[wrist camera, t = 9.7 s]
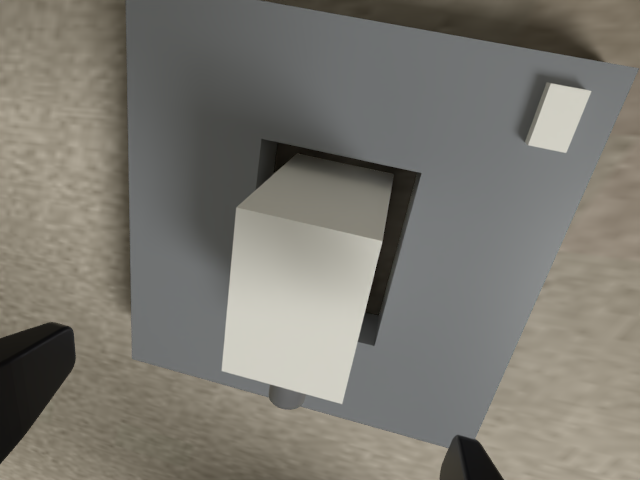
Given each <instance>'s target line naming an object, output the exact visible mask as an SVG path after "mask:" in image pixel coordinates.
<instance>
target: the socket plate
mask: <svg viewBox="0 0 640 480" xmlns="http://www.w3.org/2000/svg"><path fill="white" fill-rule="evenodd" d="M126 46H127V103H128V159H129V215H130V271H131V327H132V359H134V360H138V361H141V362H145V363H148V364H152V365H155V366H159V367H163V368H166V369H170V370H173V371H177V372H180V373H184V374H187V375H191V376H194V377H198V378H202V379H205V380H209V381H212V382H216V383H219V384H223V385H226V386H230V387H233V388H237V389H241V390H244V391H248V392H251V393H255V394H258V395H262V396H265V397H269V387H270V384H267V383H263V382H260V381H256V380H252V379H249V378H245V377H242V376H238V375H234V374H231V373H227V372H223V371H222V360H223V349H224V338H225V327H226V316H227V305H228V294H229V282H230V271H231V260H232V249H233V238H234V227H235V216H236V207H237V206H238V205H239V204H241V203H242V202H243V201H244V200H245V199H246V198H247V197H248V196H250V195H251V194H252V193H253V192H254V191H255V190H256V189H258V188H259V187H260V186H261V185H262V184H263V183H264V182H265V181H267V180H268V179H269V178H270V177H271V176H272V175H273V174H274V166H275V158H276V150H277V142H279V143H284V144H289V145H293V146H298V147H303V148H307V149H312V150H317V151H321V152H326V153H331V154H335V155H340V156H344V157H349V158H354V159H358V160H363V161H368V162H372V163H377V164H382V165H386V166H391V167H396V168H400V169H405V170H410V171H414V172H417V175H416V179H415V182H414V186H413V190H412V194H411V197H410V201H409V205H408V208H407V212H406V216H405V220H404V223H403V227H402V231H401V235H400V238H399V242H398V246H397V249H396V253H395V257H394V261H393V264H392V268H391V272H390V276H389V279H388V283H387V287H386V290H385V294H384V298H383V302H382V305H381V309H380V313H379V316H377V315H373V314H369V313H365V314H364V318H363V322H362V326H361V330H360V334H359V338H358V342H357V346H356V350H355V354H354V358H353V362H352V367H351V371H350V375H349V379H348V383H347V387H346V391H345V395H344V399H343V403H342V404H340V403H336V402H332V401H329V400H325V399H322V398H318V397H314V396H311V395H307V394H306V397H305V401H304V403H303V404H302V405H301V407H304V408H308V409H312V410H315V411H319V412H322V413H326V414H329V415H333V416H336V417H340V418H343V419H347V420H351V421H354V422H358V423H361V424H365V425H368V426H372V427H375V428H379V429H382V430H386V431H390V432H393V433H397V434H400V435H404V436H407V437H411V438H414V439H418V440H421V441H425V442H429V443H432V444H436V445H439V446H443V447H446V448H449V446H450V444H451V441H452V439H453V438H454V437H455V436H456V435H462V436H465V437H469V438H472V439H475V438H476V436H477V433H478V431H479V429H480V427H481V424H482V422H483V420H484V417H485V415H486V413H487V411H488V408H489V406H490V404H491V402H492V399H493V397H494V395H495V393H496V390H497V388H498V386H499V384H500V381H501V379H502V377H503V375H504V372H505V370H506V368H507V366H508V363H509V361H510V359H511V356H512V354H513V352H514V350H515V347H516V345H517V343H518V341H519V338H520V336H521V334H522V332H523V329H524V327H525V325H526V323H527V320H528V318H529V316H530V314H531V311H532V309H533V307H534V305H535V302H536V300H537V298H538V295H539V293H540V291H541V289H542V286H543V284H544V282H545V280H546V277H547V275H548V273H549V271H550V268H551V266H552V264H553V262H554V259H555V257H556V255H557V253H558V250H559V248H560V246H561V244H562V241H563V239H564V237H565V235H566V232H567V230H568V228H569V225H570V223H571V221H572V219H573V216H574V214H575V212H576V210H577V207H578V205H579V203H580V201H581V198H582V196H583V194H584V192H585V189H586V187H587V185H588V183H589V180H590V178H591V176H592V174H593V171H594V169H595V167H596V164H597V162H598V160H599V158H600V155H601V153H602V151H603V149H604V146H605V144H606V142H607V140H608V137H609V135H610V133H611V131H612V128H613V126H614V124H615V122H616V119H617V117H618V115H619V113H620V110H621V108H622V106H623V104H624V101H625V99H626V97H627V94H628V92H629V90H630V88H631V85H632V83H633V81H634V79H635V76H636V74H637V72H638V70H639V68H634V67H628V66H622V65H617V64H611V63H606V62H600V61H595V60H589V59H584V58H578V57H572V56H567V55H561V54H556V53H550V52H545V51H539V50H533V49H528V48H522V47H517V46H511V45H506V44H500V43H494V42H489V41H483V40H478V39H472V38H467V37H461V36H455V35H450V34H444V33H439V32H433V31H428V30H422V29H416V28H411V27H405V26H400V25H394V24H389V23H383V22H377V21H372V20H366V19H361V18H355V17H350V16H344V15H338V14H333V13H327V12H322V11H316V10H311V9H305V8H300V7H294V6H288V5H283V4H277V3H272V2H266V1H261V0H126Z"/></svg>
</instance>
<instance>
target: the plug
mask: <svg viewBox="0 0 640 480" xmlns="http://www.w3.org/2000/svg"><path fill="white" fill-rule="evenodd" d="M393 177H394V174H391V173H386V172H382V171H377V170H372V169H368V168H363V167H358V166H354V165H349V164H344V163H340V162H335V161H330V160H326V159H321V158H316V157H312V156H307V155H302V154H298V153H297V154H296V155H295V156H294V157H292V158H291V159H290V160H289V161H288V162H287V163H286V164H285V165H283V166H282V167H281V168H280V169H279V170H278V171H277V172H276V173H274V174H273V175H272V176H271V177H270V178H269V179H268V180H267V181H265V182H264V183H263V184H262V185H261V186H260V187H259V188H258V189H256V190H255V191H254V192H253V193H252V194H251V195H250V196H248V197H247V198H246V199H245V200H244V201H243V202H242V203H241V204H239V205H238V206H237V207H236V216H235V227H234V238H233V249H232V260H231V271H230V282H229V294H228V305H227V316H226V327H225V338H224V349H223V360H222V371H223V372H227V373H231V374H234V375H238V376H242V377H245V378H249V379H252V380H256V381H260V382H263V383H267V384H270V387H269V399H270V401H271V402H272V403H273V404H274V405H275V406H277V407H279V408H282V409H295V408H298V407H300V406H301V405H302V404H303V403H304V401H305V397H306V394H307V395H311V396H314V397H318V398H322V399H325V400H329V401H332V402H336V403H340V404H342V403H343V399H344V395H345V391H346V387H347V383H348V379H349V375H350V371H351V367H352V362H353V358H354V354H355V350H356V346H357V342H358V338H359V334H360V330H361V326H362V322H363V318H364V314H365V310H366V306H367V302H368V298H369V294H370V290H371V286H372V282H373V278H374V274H375V270H376V266H377V261H378V257H379V253H380V249H381V245H382V241H383V235H384V230H385V224H386V218H387V212H388V206H389V200H390V195H391V189H392V183H393Z"/></svg>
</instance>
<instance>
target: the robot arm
mask: <svg viewBox="0 0 640 480" xmlns="http://www.w3.org/2000/svg"><path fill="white" fill-rule="evenodd" d="M75 359H76V355H75V344H74V333H73V330H72V328H71V327H69V326H66V325H62V324H59V323H55V322H49V323H46V324H43V325H40V326H37V327H34V328H30V329H27V330H24V331H21V332H18V333H15V334H12V335H9V336H6V337H3V338H0V464H1V463H2V461H3V460H4V459H5V458H6V457H7V456H8V454H9V453H10V452H11V451H12V450H13V449H14V448H15V446H16V445H17V444H18V443H19V441H20V440H21V439H22V438H23V437H24V435H25V434H26V433H27V431H28V430H29V429H30V428H31V426H32V425H33V423H34V422H35V421H36V419H37V418H38V417H39V415H40V414H41V412H42V411H43V410H44V408H45V407H46V405H47V404H48V403H49V401H50V400H51V398H52V397H53V396H54V394H55V393H56V391H57V390H58V389H59V387H60V386H61V385H62V383H63V382H64V380H65V379H66V378H67V376H68V375H69V373H70V372H71V370H72V369H73V367H74V364H75ZM440 480H504V479H503V478H502V476H501V474H500V473H499V471H498V470H497V468H496V467H495V465H494V464H493V462H492V460H491V459H490V457H489V456H488V454H487V453H486V451H485V450H484V448H483V447H482V445H481V444H480V442H479V441H477V440H476V439H472V438H469V437H465V436H462V435H456V436H455V437H454V438H453V439H452V441H451V444H450V446H449V449H448V451H447V453H446V456H445V458H444V461H443V463H442V466H441V471H440Z"/></svg>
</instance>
